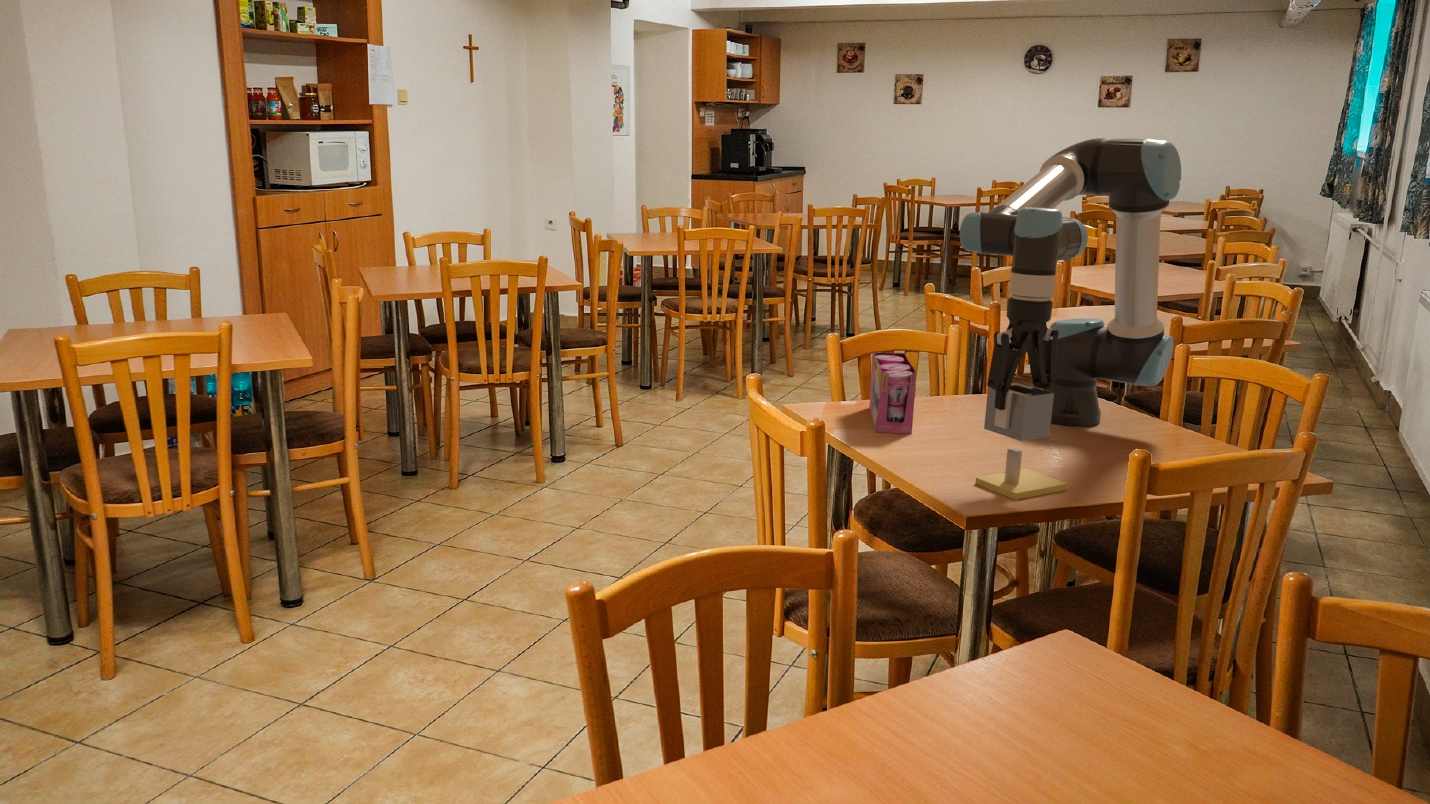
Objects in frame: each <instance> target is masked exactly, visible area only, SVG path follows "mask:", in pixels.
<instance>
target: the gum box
mask: <svg viewBox="0 0 1430 804" xmlns="http://www.w3.org/2000/svg"><path fill="white" fill-rule="evenodd" d="M870 375H871V376H870V389H869V390H870V391H869V405H868V406H869V407H868V408H869V412H870V414H871V418H872V421H873V425H874V428H875V431H876V433H888V434H889V433H891V434H908V435H911V434H912V433H913V423H914V410H915V394H916V393H915V392H916V381H917V380H916V377H917V376H916V375H917V371H916V369H915V367H914V366H913V364H912V363H911V362H910V360H909V358H908V357H907V355H906V353H905V352H904V353H903V352H883V351H881V352H879V351H874V352H872V358H871V374H870Z"/></svg>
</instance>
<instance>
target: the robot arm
mask: <svg viewBox="0 0 1430 804" xmlns="http://www.w3.org/2000/svg"><path fill="white" fill-rule="evenodd" d="M1181 180H1182V165H1181V159H1180V154H1179V151H1178V149H1177V148H1176V146H1175V145H1174V144H1173V143H1172V142H1170V141H1168V140H1165V139H1164V140H1162V139H1154V138H1106V137H1101V138H1098V137H1097V138H1091V139H1087V140H1083V141H1080V142H1077V143H1075V144H1072V145H1070V146H1067V147H1065V148H1064V149H1062V150H1060V151H1058V152H1056V153H1055V154H1053V155H1051V156H1050V157H1049V158H1048V159H1046V160H1045V161H1044V162H1043V163H1042V164H1041V166H1040V169H1039V172H1037V173H1036V174H1035V175H1034V176H1033V177H1031V178H1030V179H1029V180H1028V181H1026V182H1025V183H1024V184H1022V185H1021V186H1020V187H1019V188H1018V189H1016V190H1015V191H1014V192H1012V193H1011V194H1010V195H1009V196H1008V197H1006V198H1005V199H1004V200H1002V201H1001V202H999V203H998V204H997V205H996V206H995V207H993V208H992V209H990V211H988V212H983V211H978V212H969V213H967V214H965V216H964V218H963V219H962V221H961V223H960V228H959V241H960V244H961V247H962V248H963V250H965V251H967V252H972V253H976V254H980V255H994V256H995V255H997V256H1006V257H1007V256H1008V257H1012V260H1011V269H1010V279H1009V280H1010V281H1009V287H1008V289H1009V290H1008V294H1010V297H1009V298H1008V299H1007V305H1006V318H1007V319H1008V322H1009V324H1008V326H1007V327H1006V330H1004V331H1002V332H1000V331H995V332H994V333H993V344H994V345H993V351H992V356H991V360H990V361H991V362H990V367H989V372H988V379H987V384H986V385H987V388H988V387H990V388H992V389H995V391H996V395H995V405H994V406H995V408H996V414H995V424H994V425H995V426H998V427H1001V428H1004V429H1008V428H1009V418H1010V409H1011V399H1012V393H1011V392H1008V391H1009V389H1010V386H1011V383H1013V381H1014V378H1015V374H1016V372H1017V369H1018V367H1019V364H1020V361H1021V359H1022V358H1023V357H1024V356H1025V354H1026V353H1027V358H1028V363H1029V368H1030V374H1031V380H1032V385H1030V387H1033V388H1037V389H1041V390H1044V391H1048V392H1051V393H1054V399H1053V408H1052V417H1051V424H1056V425H1062V426H1063V425H1064V426H1074V427H1075V426H1077V427H1083V426H1094V425H1097V424H1099V423H1100V422H1101V414H1102V412H1101V411H1102V410H1101V409H1100V406H1099V405H1100V403H1099V398H1098V392H1097V379H1099V380H1104V381H1110V382H1111V381H1112V382H1118V383H1123V384H1128V385H1134V386H1137V387H1138V386H1143V387H1144V386H1145V387H1153V386H1154V387H1155V386H1156V385H1158V384H1159V383H1160V382H1161V381H1162V379H1164V376H1165V375H1166V372H1167V370H1168V368H1169V365H1170V363H1171V359H1172V356H1173V355H1172V354H1173V350H1174V344H1175V341H1174V338H1173V336H1171V335H1169V334H1165V324H1164V322H1163V321H1162V320H1161V319H1159V318H1158V300H1159V299H1158V296H1159V295H1158V293H1159V273H1160V272H1159V269H1160V268H1159V267H1160V243H1161V242H1160V241H1161V220H1162V219H1161V214H1162V213H1163V212H1164V211H1165V210H1166V209H1167V208H1168V207H1169V206H1170V201H1171V200H1173V199H1175V198H1176V196H1177V195H1178V193H1179V190H1180V187H1181V183H1180V182H1181ZM1078 196H1099V197H1108V209H1109V210H1110V211H1112V213H1114V214H1115V218H1116V221H1115V266H1114V267H1115V269H1114V270H1115V271H1114V273H1115V274H1114V278H1115V279H1114V318H1112V320H1110V321H1109V322H1108V323H1107V326H1106V327H1105V323H1104V320H1103V319H1100V318H1068V319H1060V320H1056V321H1054V322H1053V323H1051V324H1050V326H1049V328H1048V325H1047V323H1048V322H1050V321H1051V319H1052V312H1053V311H1052V310H1053V304H1054V303H1053V302H1052V300H1051V299H1052V298H1053V297H1054V295H1055V284H1056V277H1057V276H1056V274H1057V265H1058V262H1059V261H1063V262H1066V261H1068V260H1071V259H1074V258H1076V257H1078V256H1080V255H1081V254H1082V252H1084V251H1085V249H1086V247H1087V245H1088V240H1089V235H1088V231H1087V228H1086V226H1085V225H1084V224H1083V222H1081V221H1079V220H1078V219H1076V218H1071V217H1065V216H1063V213H1062V212H1061V210H1059V209H1057V207H1058V206H1059V205H1060V204H1061V203H1062V202H1064V201H1070V200H1073V199H1075V197H1078ZM1003 384H1004V385H1003Z"/></svg>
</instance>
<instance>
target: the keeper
mask: <svg viewBox="0 0 1430 804" xmlns="http://www.w3.org/2000/svg"><path fill="white" fill-rule="evenodd" d="M1022 458H1023V450H1021V449H1017V448H1008V449H1007V452H1006V461H1005V469H1004V470H1005V472H999V473H994V474H993V473H992V474H987V475H983V476H976V477H975V483H974V484H975V485H977V486H980V487H983V488H985V489H987V490H990V491H992V492H995V493H997V494H1000V495H1002V496H1005V497H1008V498H1009V499H1012V500H1014V501H1015V500H1021V499H1026V498H1032V497H1038V496H1042V495H1048V494H1052V493H1057V492H1063V491H1067V490H1068V483H1067V482H1064V481H1061V480H1059V479H1056V478H1053V477H1050V476H1048V475H1045V474H1042V473H1039V472H1037V471H1034V470H1031V469H1029V468H1021V467H1022V466H1021V465H1022Z"/></svg>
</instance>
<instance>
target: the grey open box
mask: <svg viewBox="0 0 1430 804" xmlns="http://www.w3.org/2000/svg"><path fill="white" fill-rule="evenodd" d="M1003 385H1004V383H1003ZM1030 386H1031V385H1030ZM1030 386H1029V385H1025V384H1022V383H1020V382H1012V383H1011V386H1010V389H1009V391H1008V392H1011V393H1012V399H1011V409H1010V418H1009V428H1008V429H1004V428H1001V427H998V426H995V425H994V424H995V414H996V408H995V406H994V405H995V395H996V391H995V389H992V388H990V387H988V386H987V395H986V405H985V414H984V415H985V417H984V426H983V429H984V430H986V431H989V432H993V433H996V434H998V435H1001V436H1005V437H1008V438H1011V439H1014V440H1016V441H1019V442H1024V441H1030V440H1038V439H1045V438H1050V432H1051V425H1052V423H1051V417H1052V408H1053V399H1054V393H1051V392H1048V391H1044V390H1041V389H1037V388H1033V387H1034V386H1033V387H1030Z"/></svg>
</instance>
